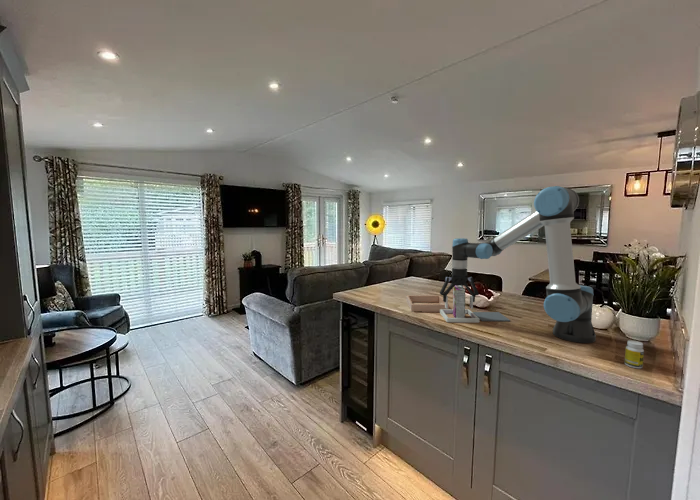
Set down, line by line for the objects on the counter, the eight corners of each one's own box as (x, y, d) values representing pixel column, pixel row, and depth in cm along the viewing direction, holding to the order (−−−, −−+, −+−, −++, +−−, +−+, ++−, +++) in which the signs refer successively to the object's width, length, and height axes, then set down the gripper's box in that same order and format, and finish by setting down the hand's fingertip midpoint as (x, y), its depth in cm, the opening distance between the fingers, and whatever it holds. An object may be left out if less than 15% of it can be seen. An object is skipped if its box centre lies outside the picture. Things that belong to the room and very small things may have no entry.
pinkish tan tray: (448, 311, 173) (449, 304, 173) (411, 311, 174) (411, 304, 174) (440, 301, 195) (440, 295, 194) (406, 301, 196) (406, 295, 196)
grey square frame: (479, 322, 154) (479, 318, 154) (447, 322, 155) (447, 318, 155) (469, 313, 170) (469, 309, 170) (439, 312, 171) (439, 309, 171)
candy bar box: (452, 314, 169) (452, 284, 167) (461, 314, 168) (462, 285, 166) (455, 320, 158) (455, 289, 156) (465, 321, 157) (466, 289, 155)
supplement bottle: (642, 370, 104) (644, 346, 103) (623, 365, 107) (625, 342, 107) (643, 365, 107) (645, 342, 106) (625, 361, 111) (626, 338, 110)
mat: (510, 321, 155) (510, 320, 155) (481, 321, 156) (482, 320, 156) (498, 313, 169) (498, 312, 169) (472, 313, 170) (472, 311, 170)
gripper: (480, 266, 163) (479, 306, 165) (434, 266, 165) (433, 305, 167) (486, 268, 156) (485, 310, 158) (437, 269, 157) (436, 309, 159)
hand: (458, 308), depth 162 cm, fingers open, 12 cm apart
